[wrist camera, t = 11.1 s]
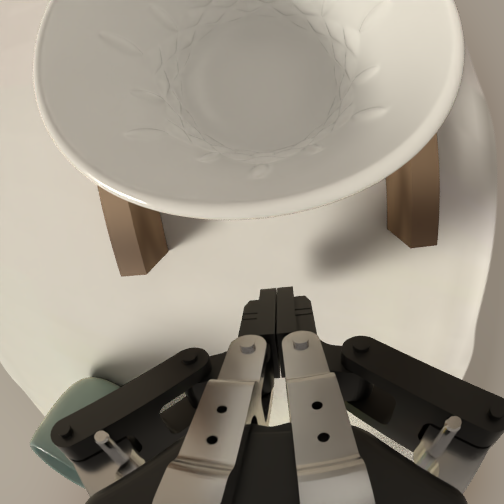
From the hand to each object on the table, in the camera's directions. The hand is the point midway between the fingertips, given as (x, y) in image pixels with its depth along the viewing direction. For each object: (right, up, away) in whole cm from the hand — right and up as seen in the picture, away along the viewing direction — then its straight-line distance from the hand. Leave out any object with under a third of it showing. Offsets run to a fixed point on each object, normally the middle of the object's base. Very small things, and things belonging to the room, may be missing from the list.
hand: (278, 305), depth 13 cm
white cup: (-1, +10, -1) cm, 10 cm away
